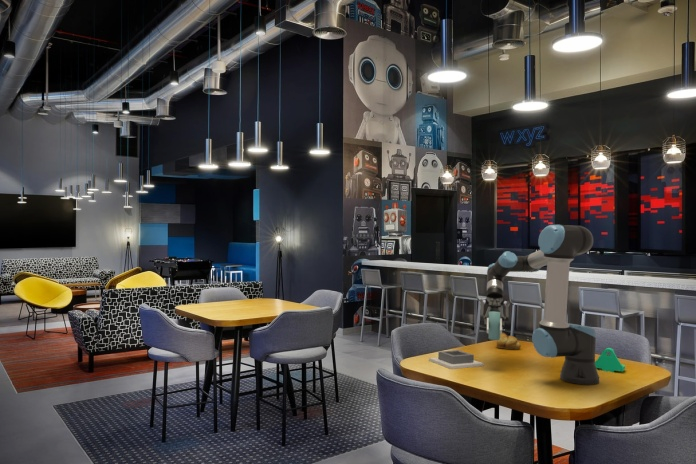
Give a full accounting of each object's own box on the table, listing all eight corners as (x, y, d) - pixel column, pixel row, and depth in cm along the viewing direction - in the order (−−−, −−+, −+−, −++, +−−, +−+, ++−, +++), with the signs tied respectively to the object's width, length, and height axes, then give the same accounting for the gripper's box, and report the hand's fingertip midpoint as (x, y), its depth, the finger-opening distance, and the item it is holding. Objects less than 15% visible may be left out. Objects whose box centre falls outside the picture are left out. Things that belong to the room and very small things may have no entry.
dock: (483, 366, 250) (483, 355, 250) (451, 369, 243) (451, 358, 243) (459, 358, 266) (460, 348, 267) (428, 360, 259) (429, 350, 259)
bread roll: (522, 348, 294) (522, 334, 294) (517, 351, 286) (517, 336, 286) (499, 345, 301) (499, 331, 301) (493, 348, 293) (493, 333, 293)
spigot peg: (502, 339, 243) (502, 312, 243) (493, 340, 241) (493, 313, 241) (494, 337, 247) (495, 311, 248) (486, 338, 245) (486, 311, 245)
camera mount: (625, 370, 248) (625, 348, 248) (622, 374, 241) (622, 350, 242) (596, 366, 255) (597, 344, 255) (593, 369, 248) (593, 347, 249)
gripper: (514, 297, 257) (515, 338, 240) (475, 295, 261) (473, 335, 245) (515, 287, 252) (515, 327, 235) (475, 285, 256) (473, 325, 240)
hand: (494, 331), depth 240 cm, fingers closed on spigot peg, 5 cm apart
